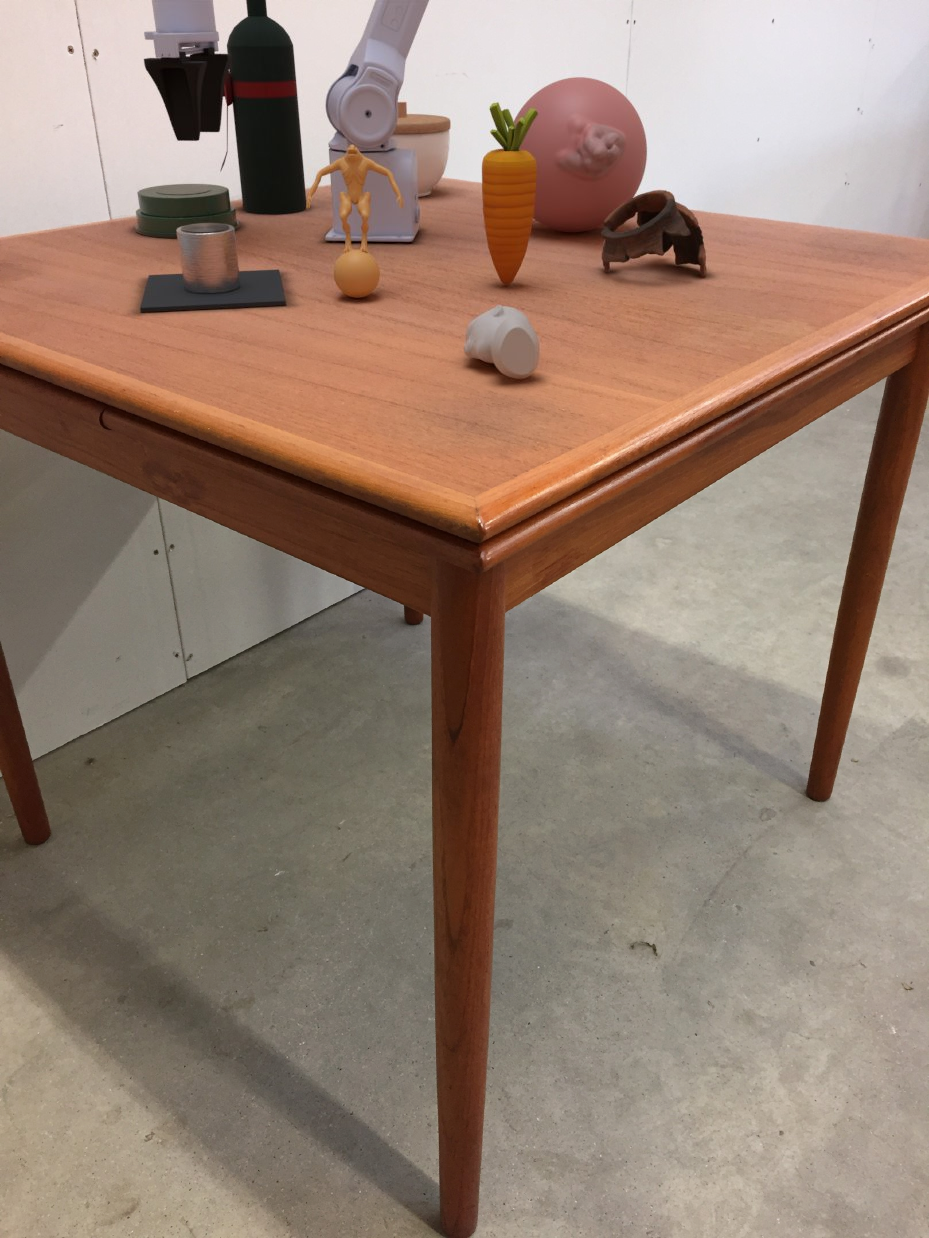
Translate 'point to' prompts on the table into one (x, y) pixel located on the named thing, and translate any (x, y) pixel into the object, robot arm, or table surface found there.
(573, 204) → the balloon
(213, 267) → the silver cup
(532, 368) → the pale two-lobed sculpture
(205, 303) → the mat
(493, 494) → the table surface
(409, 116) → the lidded bowl
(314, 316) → the table surface
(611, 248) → the broken pot rim
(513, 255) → the carrot
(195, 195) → the green stepped puck
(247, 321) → the table surface
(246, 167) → the wine bottle
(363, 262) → the figurine
